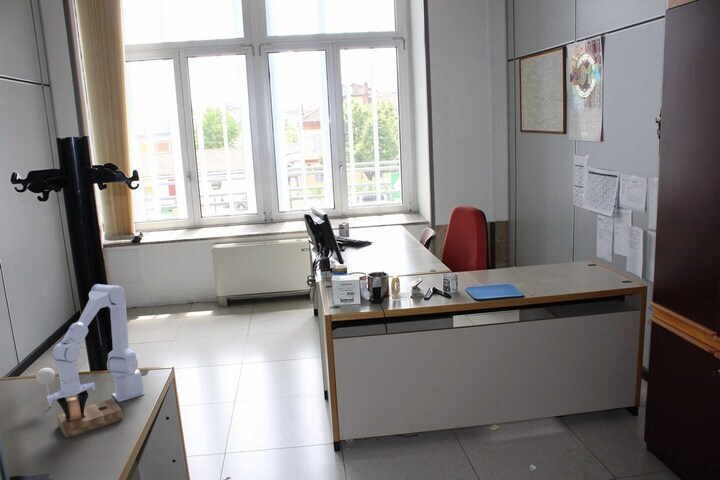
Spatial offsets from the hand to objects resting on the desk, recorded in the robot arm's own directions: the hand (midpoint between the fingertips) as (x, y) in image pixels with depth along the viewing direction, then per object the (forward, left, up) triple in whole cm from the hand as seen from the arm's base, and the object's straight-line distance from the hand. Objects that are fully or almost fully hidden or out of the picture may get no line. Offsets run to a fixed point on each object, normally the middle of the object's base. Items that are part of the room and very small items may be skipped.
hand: (74, 415), depth 201 cm
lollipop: (+4, -23, -5) cm, 24 cm away
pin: (0, 0, -2) cm, 2 cm away
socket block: (-4, 0, -5) cm, 6 cm away
